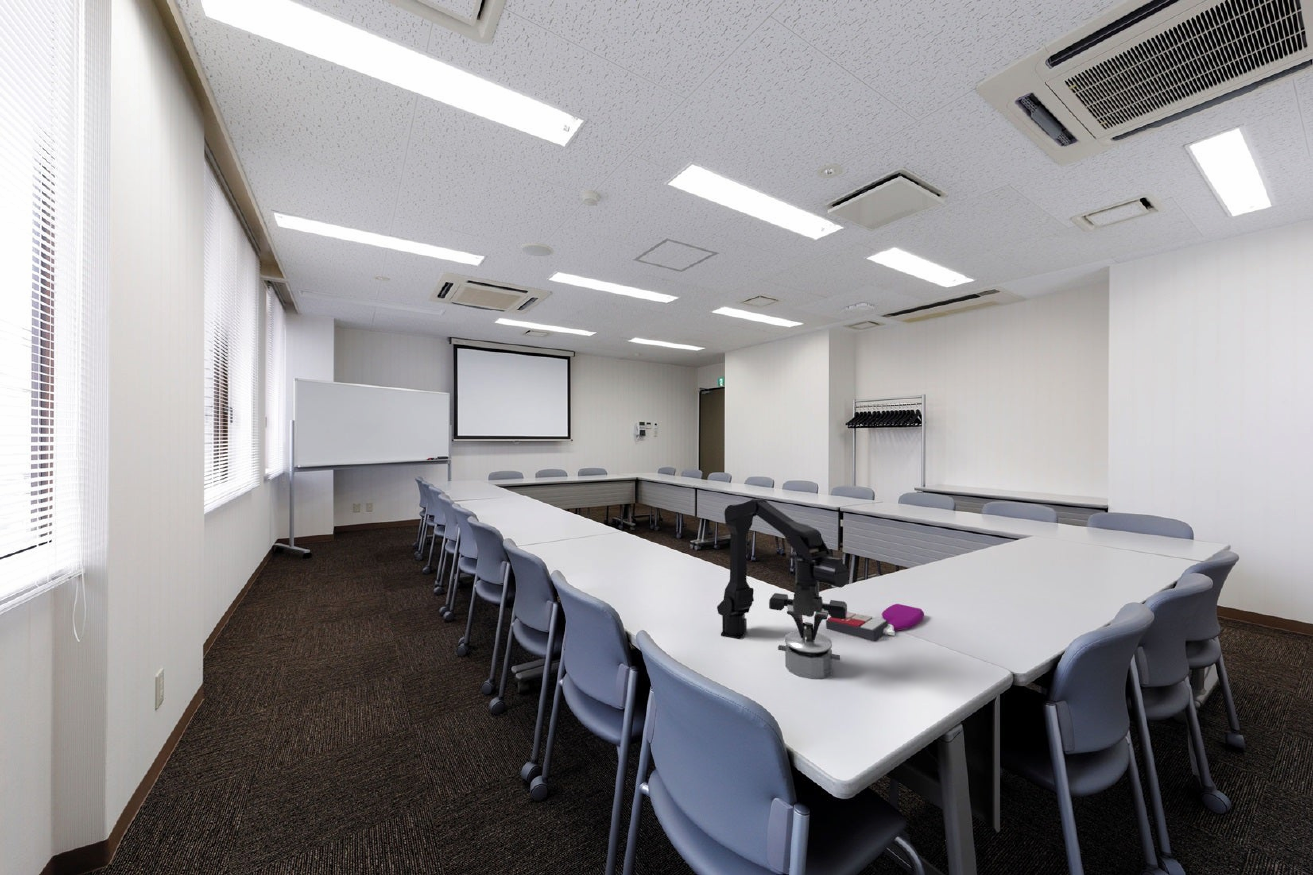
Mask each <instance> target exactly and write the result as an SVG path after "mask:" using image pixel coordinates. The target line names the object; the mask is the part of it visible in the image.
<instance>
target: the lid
mask: <svg viewBox="0 0 1313 875" xmlns="http://www.w3.org/2000/svg"><path fill="white" fill-rule="evenodd" d="M813 627H814V623H813V622H810V621H809V622H808V621H807V622H806V621H805V622H804V621H803V639H802V638H801V636H800V633H799V631H798V630H795V631H790V632H789V633H786V635H785V636H784V643H785V644H787V645H788V646H790V647H791V648H793V649H796V650H798V651H800V652H804V653H820V652H825V651H828V650H830V649H831V650H832V648H833V641H832V640H831V638H830V637H828V636H826V635H824V634H822V633H818V632H817V634H816V637H815V640H813Z"/></svg>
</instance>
